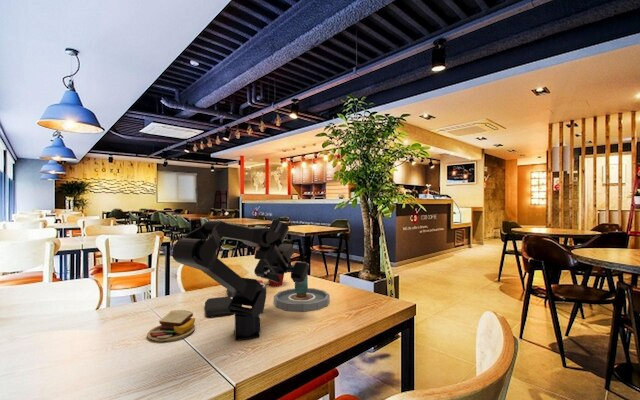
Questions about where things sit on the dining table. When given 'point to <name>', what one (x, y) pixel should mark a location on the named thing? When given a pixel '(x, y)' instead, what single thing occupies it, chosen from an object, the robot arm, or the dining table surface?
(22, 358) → the dining table surface
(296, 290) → the bead spool
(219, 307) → the carrying case or bag
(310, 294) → the round tray
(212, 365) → the dining table surface
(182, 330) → the toy sandwich meal
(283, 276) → the plastic cup
